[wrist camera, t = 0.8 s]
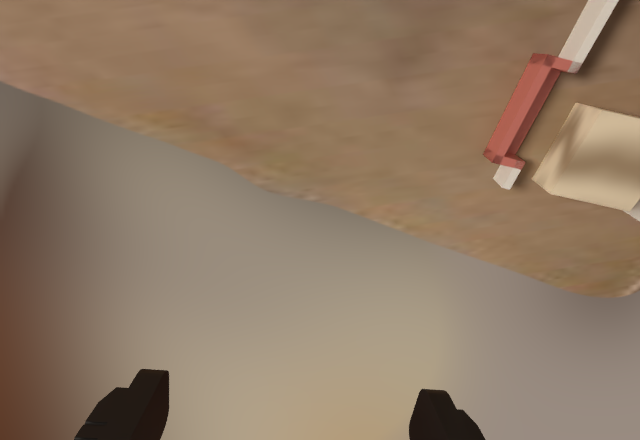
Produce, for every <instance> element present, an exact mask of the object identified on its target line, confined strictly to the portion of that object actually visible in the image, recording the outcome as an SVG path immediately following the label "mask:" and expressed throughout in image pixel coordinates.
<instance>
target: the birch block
mask: <svg viewBox="0 0 640 440" xmlns="http://www.w3.org/2000/svg"><path fill="white" fill-rule="evenodd" d="M532 180H533V181H535V182H536V183H537V184H538V185H540V186H541V187H542V188H543V189H545V190H546V191H547V192H548V193H550V194H553V195H557V196H562V197H566V198H571V199H575V200H580V201H584V202H589V203H593V204H597V205H602V206H606V207H611V208H615V209H620V210H624V211H629V212H630V211H631V209H632V208H633V207H634V206H635V204H636V203H637V202H638V201H639V199H640V117H637V116H633V115H629V114H624V113H620V112H615V111H611V110H607V109H602V108H598V107H594V106H589V105H585V104H580V103H575V105H574V107H573V109H572V110H571V112H570V114H569V116H568V117H567V119H566V121H565V123H564V124H563V126H562V128H561V130H560V131H559V133H558V135H557V137H556V138H555V140H554V142H553V143H552V145H551V147H550V149H549V150H548V152H547V154H546V156H545V157H544V159H543V161H542V163H541V164H540V166H539V168H538V170H537V171H536V173H535V175H534V176H533V178H532Z"/></svg>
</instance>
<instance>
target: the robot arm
mask: <svg viewBox="0 0 640 440" xmlns="http://www.w3.org/2000/svg"><path fill="white" fill-rule="evenodd" d="M168 412H169V372H168V371H164V370H151V369H141V370H140V371H139V372H138V373H137V375H136V377H135V378H134V380H133V381H132V383H131V385H130V387H129V388H119V387H117V388H115V389H114V390H113V391H112V392H110V393H109V394H108V395H107V396H106V397H104V398H103V399H102V400H101V401H100V402H98V404H97V405H96V407H95V408H94V410H93V411H92V413H91V414H90V415H89V417H88V418H87V420H86V422H85V425H83V426H82V427H81V429H80V430H79V432H78V433H77V435H76V436H75V439H74V440H160V438H161V436H162V433H163V431H164V428H165V425H166V421H167V417H168ZM409 437H410V440H485V438H484V436H483V434H482V433H481V431H480V429H479V427H478V426H477V424H476V423H475V422H474V421H473V420H472V419H471V418H470V417H469V416H468V415H467V414H466V413H465V412H464V411H463V410H457V409H456V407H455V405H454V404H453V401H452V400H451V398H450V396H449V394H448V393H447V392H446V391H444V390H429V389H422V390H421V391H420V392H419V395H418V398H417V401H416V405H415V408H414V411H413V414H412V417H411V420H410V424H409Z"/></svg>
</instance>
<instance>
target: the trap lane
mask: <svg viewBox="0 0 640 440" xmlns="http://www.w3.org/2000/svg"><path fill="white" fill-rule="evenodd" d="M618 1H619V0H588V2H587V4H586V6H585V8H584V9H583V11H582V13H581V15H580V17H579V19H578V21H577V23H576V24H575V26H574V28H573V30H572V32H571V34H570V36H569V37H568V39H567V41H566V43H565V45H564V47H563V49H562V51H561V52H560V54H559V56H558V57H555V56H551V55H547V54H535V53H533V55H532V57H531V59H530V61H529V63H528V65H527V67H526V69H525V71H524V73H523V75H522V77H521V79H520V81H519V83H518V85H517V87H516V89H515V91H514V93H513V95H512V97H511V99H510V101H509V103H508V105H507V107H506V109H505V111H504V113H503V115H502V117H501V119H500V121H499V123H498V125H497V127H496V129H495V131H494V133H493V135H492V137H491V139H490V141H489V143H488V145H487V147H486V149H485V151H484V153H483V155H484V156H485V157H486V158H487V159H489V160H490V161H491V162H492V163H496V164H500V166H499V168H498V170H497V172H496V174H495V176H494V178H493V179H494V180H495V181H496V182H497V183H498V184H499V185H500V186H501V187H502V188H505V189H509V190H510V188H511V187H512V185H513V183H514V181H515V180H516V178H517V176H518V175H519V173H520V171H521V169H522V168H523V166H524V164H525V161H523V160H522V159H521V158H519V157H518V156H516V155H515V154H516V153H517V151H518V149H519V147H520V145H521V144H522V142H523V140H524V138H525V136H526V134H527V133H528V131H529V129H530V127H531V125H532V124H533V122H534V120H535V118H536V116H537V114H538V113H539V111H540V109H541V107H542V105H543V104H544V102H545V100H546V98H547V96H548V95H549V93H550V91H551V89H552V87H553V85H554V84H555V82H556V80H557V78H558V76H559V75H560V73H561V71H562V72H568V73H575V74H577V72H578V70H579V68H580V67H581V65H582V63H583V61H584V60H585V58H586V56H587V55H588V53H589V51H590V49H591V48H592V46H593V44H594V42H595V41H596V39H597V37H598V35H599V34H600V32H601V30H602V28H603V27H604V25H605V23H606V21H607V20H608V18H609V16H610V15H611V13H612V11H613V9H614V8H615V6H616V4H617V2H618ZM623 211H624V210H623ZM624 212H626V213H627V214H629V215H630V216H632V217H634V218H635V219H637V220H638V221H640V199H639V201H638V202H637V203H636V204H635V206H634V207H633V208H632V209H631V211H630V212H629V211H624Z"/></svg>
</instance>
